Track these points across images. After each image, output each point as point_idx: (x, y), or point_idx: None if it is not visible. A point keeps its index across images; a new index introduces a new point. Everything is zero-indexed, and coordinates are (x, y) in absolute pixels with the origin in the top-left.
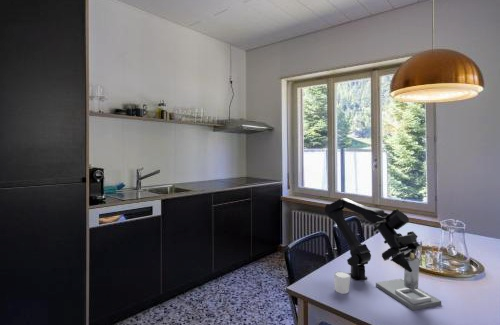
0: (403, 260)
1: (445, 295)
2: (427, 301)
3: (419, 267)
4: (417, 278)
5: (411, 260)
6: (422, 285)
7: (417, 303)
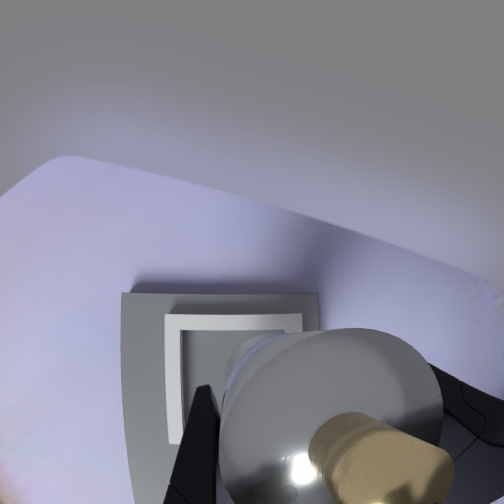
0: (496, 400)
1: (39, 348)
2: (198, 312)
3: (202, 389)
4: (274, 334)
5: (391, 409)
6: (64, 456)
7: (271, 312)
